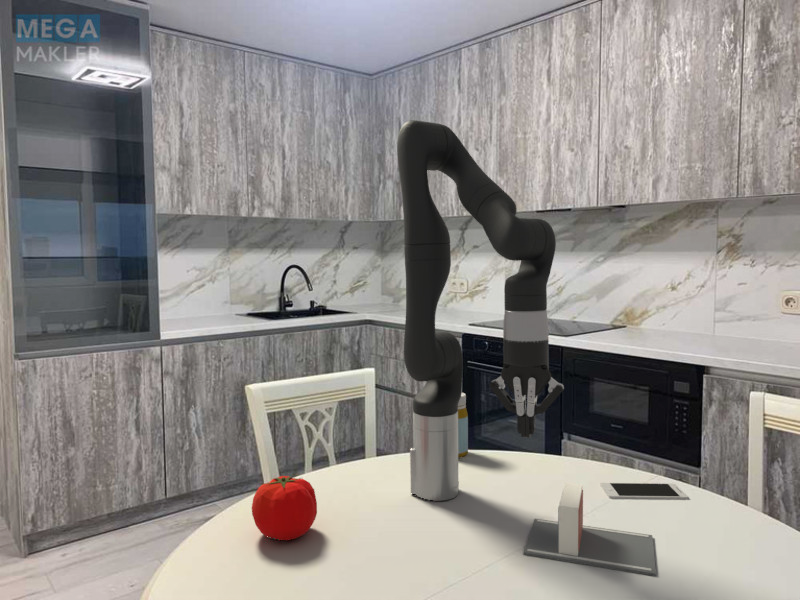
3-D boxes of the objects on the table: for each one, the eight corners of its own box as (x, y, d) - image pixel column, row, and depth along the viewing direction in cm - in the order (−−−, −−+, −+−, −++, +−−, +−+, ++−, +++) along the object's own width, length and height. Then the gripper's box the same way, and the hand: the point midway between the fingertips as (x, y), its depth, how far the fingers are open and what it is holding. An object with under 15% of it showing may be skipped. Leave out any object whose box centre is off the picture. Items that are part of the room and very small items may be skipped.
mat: (523, 554, 97) (523, 551, 97) (534, 520, 109) (534, 518, 109) (655, 576, 90) (655, 572, 90) (652, 537, 102) (652, 534, 102)
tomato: (329, 539, 103) (327, 481, 103) (265, 557, 98) (262, 496, 97) (303, 514, 114) (301, 461, 113) (244, 529, 108) (242, 474, 107)
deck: (557, 553, 97) (557, 505, 96) (563, 526, 106) (563, 482, 105) (578, 556, 95) (579, 508, 95) (582, 529, 105) (583, 485, 104)
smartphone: (599, 486, 126) (599, 482, 126) (674, 487, 125) (674, 482, 125) (609, 500, 119) (609, 495, 118) (688, 501, 118) (688, 496, 117)
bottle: (470, 450, 148) (470, 391, 147) (464, 460, 142) (463, 398, 141) (443, 448, 151) (443, 390, 149) (436, 457, 144) (435, 396, 143)
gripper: (482, 338, 100) (483, 439, 101) (563, 340, 95) (564, 446, 96) (491, 332, 107) (493, 427, 108) (567, 334, 102) (568, 433, 103)
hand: (526, 436), depth 102 cm, fingers closed
